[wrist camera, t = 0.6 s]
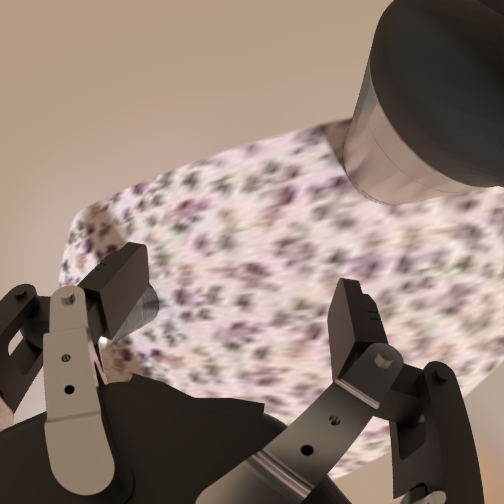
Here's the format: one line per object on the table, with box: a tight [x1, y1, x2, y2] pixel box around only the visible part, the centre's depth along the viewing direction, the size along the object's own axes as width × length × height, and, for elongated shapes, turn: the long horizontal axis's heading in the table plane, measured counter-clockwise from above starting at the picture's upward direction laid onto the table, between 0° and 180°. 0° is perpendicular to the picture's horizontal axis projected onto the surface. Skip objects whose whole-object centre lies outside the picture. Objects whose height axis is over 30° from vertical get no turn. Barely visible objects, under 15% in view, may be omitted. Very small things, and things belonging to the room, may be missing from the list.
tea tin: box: [98, 284, 159, 351], centre depth 29 cm, size 6×6×10 cm
